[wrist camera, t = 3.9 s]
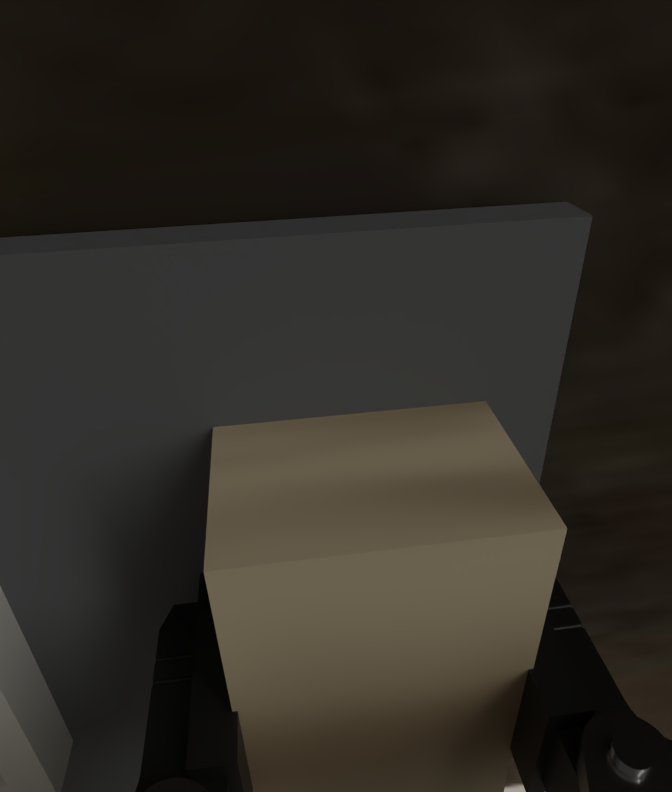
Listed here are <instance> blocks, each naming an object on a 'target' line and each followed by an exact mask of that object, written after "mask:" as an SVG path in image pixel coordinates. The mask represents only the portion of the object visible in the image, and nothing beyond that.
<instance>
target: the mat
mask: <svg viewBox="0 0 672 792" xmlns="http://www.w3.org/2000/svg"><path fill="white" fill-rule="evenodd" d="M591 221H592V215H590V214H588V213H586V212H585V211H583V210H581V209H579V208H578V207H576V206H574V205H572V204H570V203H569V202H553V203H538V204H522V205H506V206H490V207H475V208H459V209H443V210H427V211H412V212H396V213H380V214H365V215H349V216H333V217H317V218H302V219H286V220H270V221H255V222H239V223H223V224H207V225H192V226H176V227H160V228H145V229H129V230H113V231H97V232H82V233H66V234H50V235H35V236H19V237H3V238H0V586H1V588H2V591H3V593H4V595H5V597H6V599H7V601H8V603H9V605H10V608H11V610H12V612H13V614H14V616H15V618H16V620H17V622H18V625H19V627H20V629H21V631H22V633H23V635H24V637H25V639H26V642H27V644H28V646H29V648H30V650H31V652H32V654H33V656H34V658H35V661H36V663H37V665H38V667H39V669H40V671H41V673H42V675H43V678H44V680H45V682H46V684H47V686H48V688H49V690H50V692H51V695H52V697H53V699H54V701H55V703H56V705H57V707H58V709H59V711H60V714H61V716H62V718H63V720H64V722H65V724H66V726H67V728H68V731H69V733H70V735H71V737H72V739H73V744H72V748H71V752H70V756H69V761H68V765H67V769H66V774H65V778H64V782H63V787H62V791H61V792H135V791H136V788H137V785H138V782H139V777H140V772H141V765H142V757H143V750H144V742H145V734H146V727H147V719H148V712H149V704H150V696H151V689H152V686H153V673H154V666H155V663H156V651H157V643H158V635H159V630H160V628H161V626H162V624H163V623H164V621H165V619H166V617H167V616H168V614H169V612H170V610H171V609H172V607H173V605H176V604H184V603H192V602H198V592H199V579H200V574H201V572H204V557H205V542H206V527H207V512H208V497H209V482H210V466H211V451H212V436H213V427H221V426H232V425H242V424H253V423H263V422H273V421H284V420H294V419H304V418H315V417H325V416H336V415H346V414H356V413H367V412H377V411H388V410H398V409H408V408H419V407H429V406H439V405H450V404H460V403H471V402H481V401H486V402H487V404H488V405H489V407H490V408H491V410H492V412H493V413H494V415H495V416H496V418H497V419H498V421H499V422H500V424H501V426H502V427H503V429H504V430H505V432H506V433H507V435H508V437H509V438H510V440H511V441H512V443H513V444H514V446H515V447H516V449H517V451H518V452H519V454H520V455H521V457H522V458H523V460H524V461H525V463H526V465H527V466H528V468H529V469H530V471H531V472H532V474H533V476H534V477H535V479H536V480H537V482H538V483H540V478H541V473H542V468H543V463H544V458H545V453H546V448H547V443H548V438H549V433H550V428H551V423H552V418H553V413H554V408H555V403H556V397H557V392H558V387H559V382H560V377H561V372H562V367H563V362H564V357H565V352H566V347H567V342H568V337H569V332H570V327H571V322H572V317H573V312H574V307H575V302H576V297H577V292H578V287H579V282H580V277H581V271H582V266H583V261H584V256H585V251H586V246H587V241H588V236H589V231H590V226H591Z"/></svg>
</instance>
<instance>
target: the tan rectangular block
mask: <svg viewBox="0 0 672 792" xmlns="http://www.w3.org/2000/svg"><path fill="white" fill-rule="evenodd" d="M566 532H567V527H566V526H565V524H564V522H563V521H562V519H561V518H560V516H559V515H558V513H557V511H556V510H555V508H554V507H553V505H552V504H551V502H550V501H549V499H548V497H547V496H546V494H545V493H544V491H543V490H542V488H541V486H540V485H539V483H538V482H537V480H536V479H535V477H534V476H533V474H532V472H531V471H530V469H529V468H528V466H527V465H526V463H525V461H524V460H523V458H522V457H521V455H520V454H519V452H518V451H517V449H516V447H515V446H514V444H513V443H512V441H511V440H510V438H509V437H508V435H507V433H506V432H505V430H504V429H503V427H502V426H501V424H500V422H499V421H498V419H497V418H496V416H495V415H494V413H493V412H492V410H491V408H490V407H489V405H488V404H487V402H486V401H481V402H471V403H460V404H450V405H439V406H429V407H419V408H408V409H398V410H388V411H377V412H367V413H356V414H346V415H336V416H325V417H315V418H304V419H294V420H284V421H273V422H263V423H253V424H242V425H232V426H221V427H213V436H212V451H211V466H210V482H209V497H208V512H207V527H206V542H205V557H204V577H205V581H206V586H207V591H208V596H209V601H210V606H211V611H212V616H213V620H214V625H215V630H216V635H217V640H218V645H219V650H220V655H221V659H222V664H223V669H224V674H225V679H226V684H227V689H228V693H229V698H230V703H231V708H232V712H234V711H238V715H239V721H240V726H241V731H242V736H243V741H244V746H245V751H246V756H247V761H248V766H249V771H250V776H251V781H252V787H253V792H503V791H504V787H505V783H506V779H507V775H508V771H509V767H510V763H511V758H512V752H511V750H510V745H511V741H512V737H513V733H514V728H515V724H516V720H517V716H518V711H519V707H520V703H521V699H522V694H523V690H524V686H525V682H526V678H527V673H528V669H533V668H534V664H535V660H536V655H537V651H538V647H539V643H540V639H541V635H542V631H543V627H544V622H545V618H546V614H547V610H548V606H549V602H550V598H551V594H552V589H553V585H554V581H555V577H556V573H557V569H558V565H559V561H560V556H561V552H562V548H563V544H564V540H565V536H566Z"/></svg>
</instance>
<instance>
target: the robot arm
mask: <svg viewBox="0 0 672 792" xmlns="http://www.w3.org/2000/svg"><path fill="white" fill-rule="evenodd" d="M510 750H511V752H512V755H513V758H514V761H515V763H516V766H517V769H518V771H519V774H520V777H521V780H522V782H523V785H524V788H525V790H526V792H672V741H671V740H669V739H667V738H665V737H664V736H663V735H662V734H661V733H660V732H659V731H658V730H657V729H656V728H654V727H653V726H652V725H650V724H649V723H647V722H646V721H644V720H642V719H640V718H638V717H637V716H636V715H635V714H634V712H633V711H632V710H631V709H630V707H629V706H628V704H627V703H626V701H625V700H624V698H623V696H622V694H621V693H620V691H619V689H618V687H617V685H616V684H615V682H614V680H613V678H612V677H611V675H610V673H609V671H608V669H607V668H606V666H605V664H604V662H603V661H602V659H601V657H600V655H599V653H598V652H597V650H596V648H595V646H594V645H593V643H592V641H591V639H590V637H589V636H588V634H587V632H586V630H585V629H584V628H582V625H581V621H580V620H579V618H578V616H577V614H576V613H575V611H574V609H573V608H571V606H570V602H569V600H568V598H567V597H566V595H565V593H564V591H563V589H562V588H561V586H560V584H559V582H558V581H557V579H556V578H555V581H554V585H553V589H552V594H551V598H550V602H549V606H548V610H547V614H546V618H545V622H544V627H543V631H542V635H541V639H540V643H539V647H538V651H537V655H536V660H535V664H534V668H533V669H528V673H527V678H526V682H525V686H524V690H523V694H522V699H521V703H520V707H519V711H518V716H517V720H516V724H515V728H514V733H513V737H512V741H511V745H510ZM135 792H253V787H252V781H251V776H250V771H249V766H248V761H247V756H246V751H245V746H244V741H243V736H242V731H241V726H240V721H239V715H238V711H234V712H232V708H231V703H230V698H229V693H228V689H227V684H226V679H225V674H224V669H223V664H222V659H221V655H220V650H219V645H218V640H217V635H216V630H215V625H214V620H213V616H212V611H211V606H210V601H209V596H208V591H207V586H206V581H205V577H204V572H201V574H200V579H199V592H198V602H192V603H184V604H176V605H173V607H172V609H171V610H170V612H169V614H168V616H167V617H166V619H165V621H164V623H163V624H162V626H161V628H160V630H159V635H158V643H157V651H156V663H155V666H154V673H153V686H152V689H151V696H150V704H149V712H148V719H147V727H146V734H145V742H144V750H143V757H142V765H141V772H140V777H139V782H138V785H137V788H136V791H135Z"/></svg>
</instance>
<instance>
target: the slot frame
mask: <svg viewBox="0 0 672 792" xmlns="http://www.w3.org/2000/svg"><path fill="white" fill-rule="evenodd" d="M72 744H73V739H72V737H71V735H70V733H69V731H68V728H67V726H66V724H65V722H64V720H63V718H62V716H61V714H60V711H59V709H58V707H57V705H56V703H55V701H54V699H53V697H52V695H51V692H50V690H49V688H48V686H47V684H46V682H45V680H44V678H43V675H42V673H41V671H40V669H39V667H38V665H37V663H36V661H35V658H34V656H33V654H32V652H31V650H30V648H29V646H28V644H27V642H26V639H25V637H24V635H23V633H22V631H21V629H20V627H19V625H18V622H17V620H16V618H15V616H14V614H13V612H12V610H11V608H10V605H9V603H8V601H7V599H6V597H5V595H4V593H3V591H2V588H1V586H0V792H61V791H62V787H63V782H64V778H65V774H66V769H67V765H68V761H69V756H70V752H71V748H72Z"/></svg>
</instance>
